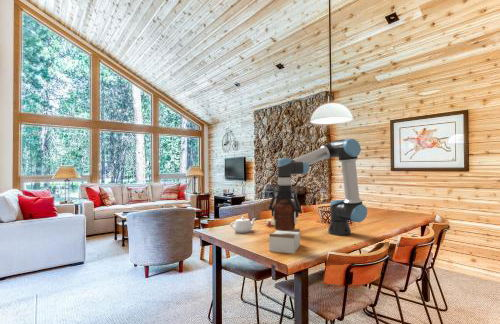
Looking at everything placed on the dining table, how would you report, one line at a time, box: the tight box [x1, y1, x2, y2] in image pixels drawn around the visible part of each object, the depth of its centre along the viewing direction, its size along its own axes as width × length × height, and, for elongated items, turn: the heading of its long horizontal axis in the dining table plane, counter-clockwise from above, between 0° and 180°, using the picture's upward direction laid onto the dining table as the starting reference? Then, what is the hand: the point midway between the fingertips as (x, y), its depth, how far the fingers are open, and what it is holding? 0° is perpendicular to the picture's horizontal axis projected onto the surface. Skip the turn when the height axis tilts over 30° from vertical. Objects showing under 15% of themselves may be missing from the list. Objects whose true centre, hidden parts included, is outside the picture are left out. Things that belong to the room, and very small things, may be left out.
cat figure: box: [264, 218, 275, 228], centre depth 216 cm, size 10×9×25 cm
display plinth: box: [268, 228, 301, 254], centre depth 162 cm, size 14×18×10 cm
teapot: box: [229, 216, 257, 234], centre depth 204 cm, size 22×14×11 cm, turn 124°
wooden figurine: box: [273, 199, 296, 231], centre depth 162 cm, size 12×6×18 cm, turn 105°
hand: (284, 222), depth 162 cm, fingers closed on wooden figurine, 11 cm apart
